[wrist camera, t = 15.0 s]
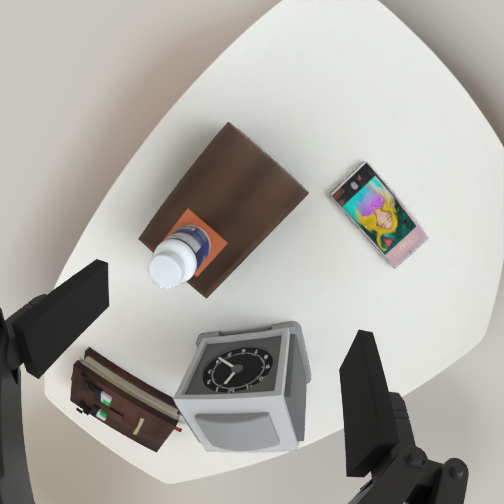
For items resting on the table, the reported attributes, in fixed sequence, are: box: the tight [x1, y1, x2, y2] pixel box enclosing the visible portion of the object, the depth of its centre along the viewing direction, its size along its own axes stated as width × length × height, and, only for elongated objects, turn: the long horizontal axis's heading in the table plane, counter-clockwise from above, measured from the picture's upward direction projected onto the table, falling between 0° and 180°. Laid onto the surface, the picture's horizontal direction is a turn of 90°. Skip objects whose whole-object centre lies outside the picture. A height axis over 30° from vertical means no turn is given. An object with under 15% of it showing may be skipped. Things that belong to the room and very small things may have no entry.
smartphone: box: [330, 161, 428, 268], centre depth 41 cm, size 7×1×15 cm
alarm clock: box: [173, 322, 311, 452], centre depth 45 cm, size 18×13×18 cm
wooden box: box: [139, 122, 309, 298], centre depth 42 cm, size 13×21×5 cm, turn 139°
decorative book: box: [70, 347, 182, 452], centre depth 61 cm, size 19×8×30 cm
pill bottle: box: [148, 225, 211, 289], centre depth 37 cm, size 5×5×10 cm
